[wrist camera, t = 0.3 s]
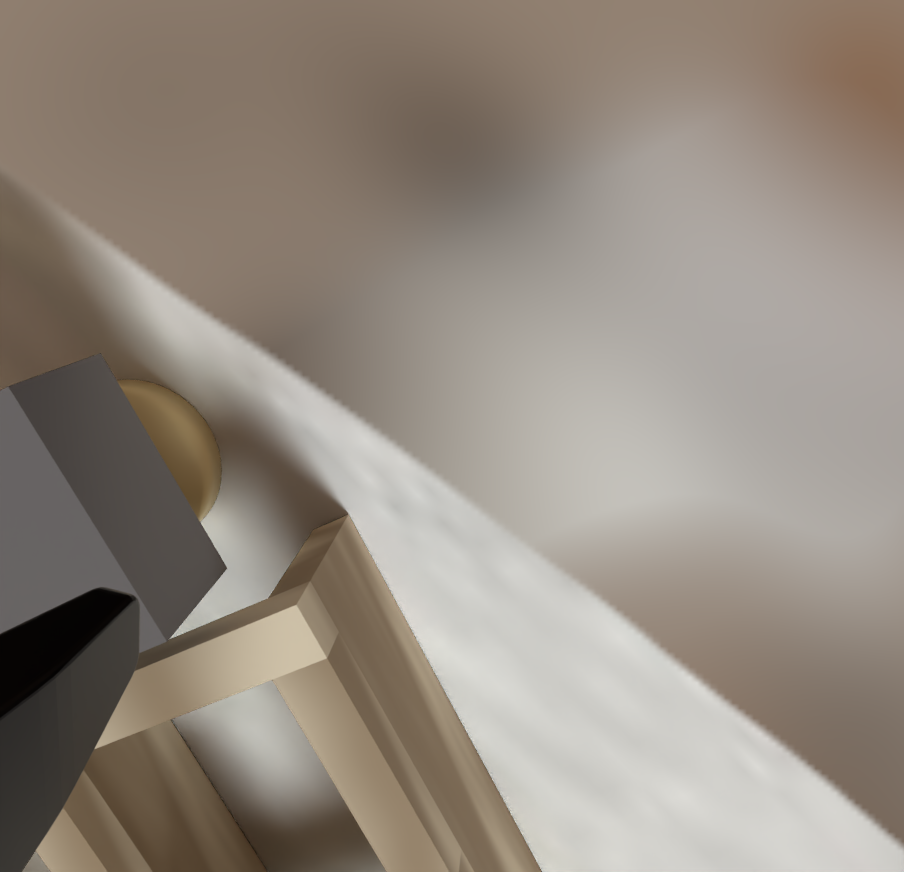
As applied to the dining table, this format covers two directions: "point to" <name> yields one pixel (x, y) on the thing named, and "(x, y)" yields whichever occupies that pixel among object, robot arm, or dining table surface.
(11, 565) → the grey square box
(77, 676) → the robot arm
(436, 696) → the keyhole board
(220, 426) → the dining table surface
